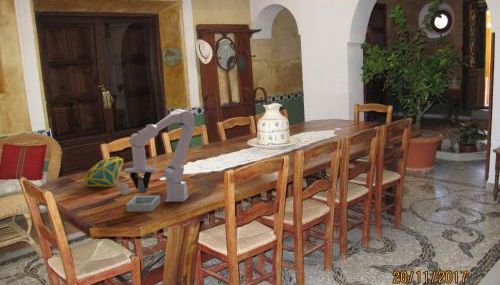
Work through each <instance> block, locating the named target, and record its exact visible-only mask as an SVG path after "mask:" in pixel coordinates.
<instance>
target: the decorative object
mask: <svg viewBox="0 0 500 285" xmlns="http://www.w3.org/2000/svg"><path fill="white" fill-rule="evenodd" d="M123 164H124V158H121V157H119V156H113V157H106V158H104V159H102V160H100V161H99V162H97V163H96V164H94V165H93V166H92V167H90V168H89V170H88V171H87V173H86V175H85V176H84V186H86V187H94V188H113V187H116V186H117V185H116V184H115V182H116V181H119V178H120V175H121V172H122V171H121V170H122V169H123Z"/></svg>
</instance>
